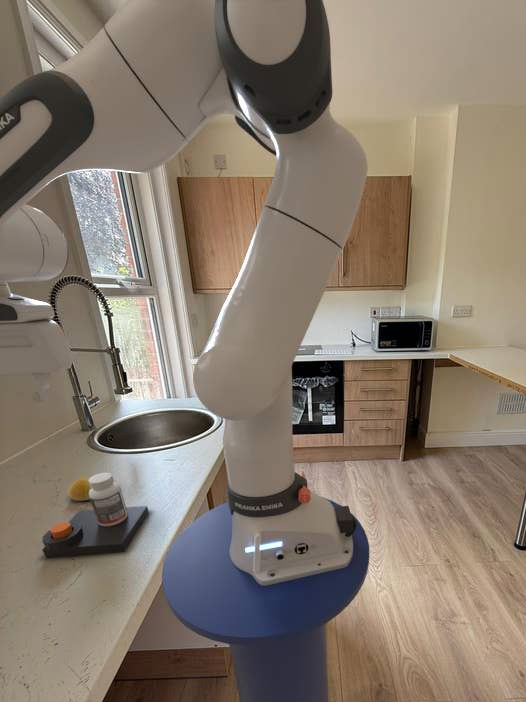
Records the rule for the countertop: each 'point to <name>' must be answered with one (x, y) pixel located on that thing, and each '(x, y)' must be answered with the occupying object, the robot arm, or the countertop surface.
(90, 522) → the scale
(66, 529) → the button
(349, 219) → the robot arm
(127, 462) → the countertop surface
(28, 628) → the countertop surface
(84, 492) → the bread roll
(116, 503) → the pill bottle
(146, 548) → the countertop surface
